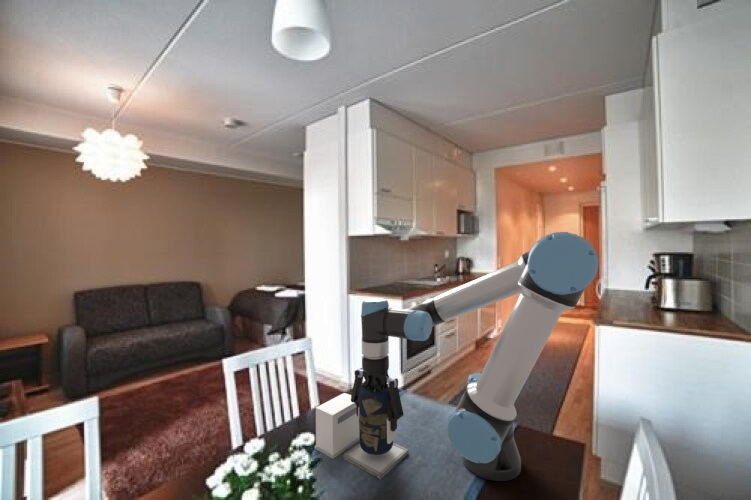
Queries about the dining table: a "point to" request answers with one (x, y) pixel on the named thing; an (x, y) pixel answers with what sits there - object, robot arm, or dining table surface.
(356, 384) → the robot arm
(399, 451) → the mat
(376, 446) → the canister
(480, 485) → the dining table surface
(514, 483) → the dining table surface
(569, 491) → the dining table surface
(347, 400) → the unit
